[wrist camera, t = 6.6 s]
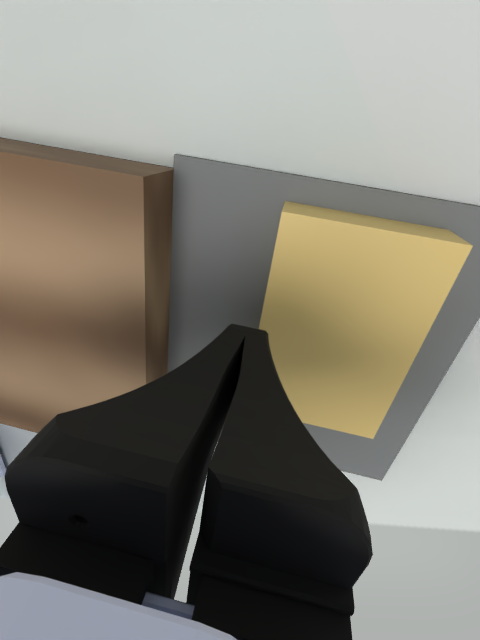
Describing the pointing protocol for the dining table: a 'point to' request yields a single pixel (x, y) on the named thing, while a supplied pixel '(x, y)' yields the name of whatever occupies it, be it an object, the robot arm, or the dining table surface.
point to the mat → (254, 268)
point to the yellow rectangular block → (352, 309)
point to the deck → (80, 279)
